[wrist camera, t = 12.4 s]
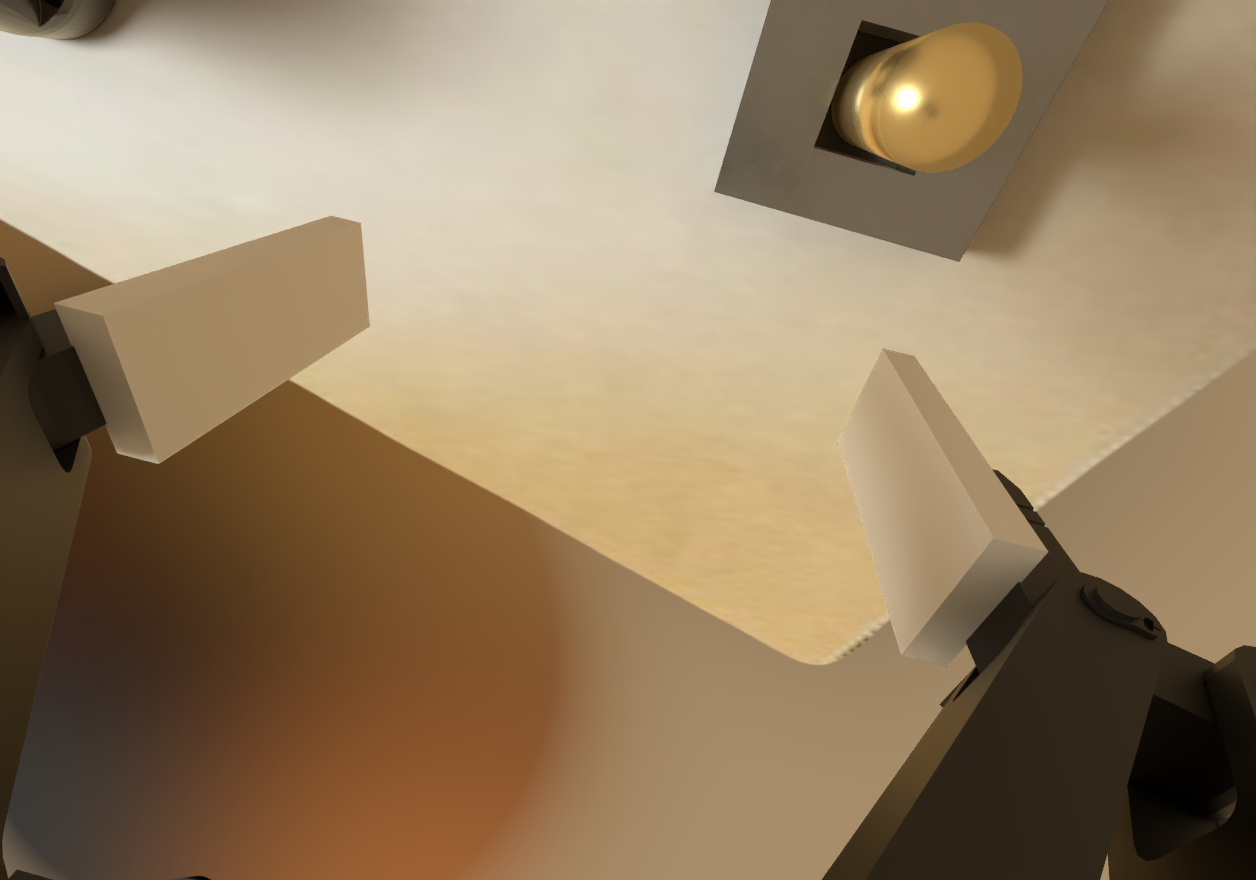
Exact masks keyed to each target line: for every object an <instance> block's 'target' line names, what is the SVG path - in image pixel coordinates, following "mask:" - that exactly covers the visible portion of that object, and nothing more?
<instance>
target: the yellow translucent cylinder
mask: <svg viewBox="0 0 1256 880" xmlns="http://www.w3.org/2000/svg"><path fill="white" fill-rule="evenodd" d="M1022 82H1023V71H1022V64H1021V60H1020V57H1019V53H1018V51H1017V49H1016V47H1015V45H1014V44H1013V43H1012V41H1011V40H1010V39H1009V38H1008V37H1007V36H1006V35H1005V34H1004V33H1003V32H1001V31H1000V30H998V29H996V28H995V27H992V26H989V25H986V24H981V23H961V24H956V25H952V26H949V27H946V28H943V29H940V30H938V31H935V32H932V33H929V34H927V35H924V36H921V37H918V38H916V39H913V40H910V41H907V42H905V43H902V44H899V45H896V46H894V47H891V48H888V49H885V50H883V51H880V52H877V53H874V54H872V55H869V56H867V57H864V58H863V59H861V60H859V61H858V62H856V63H855V64H854V65H853V66H852V67H851V68H849V70H848V71H847V72H846V73H845V74H844V76H843V77H842V78H841V80H840V82H839V83H838V85H837V88H836V90H835V93H834V96H833V100H832V108H831V113H832V121H833V124H834V127H835V129H836V131H837V133H838V134H839V135H840V137H841V138H842V139H843V140H845V141H846V142H847V143H849V144H851V145H854V146H856V147H858V148H861V149H863V150H866V151H868V152H871V153H873V154H876V155H878V156H880V157H883V158H885V159H888V160H890V161H893V162H895V163H898V164H900V165H902V166H905V167H907V168H910V169H913V170H915V171H920V172H926V173H937V172H944V171H949V170H952V169H955V168H958V167H960V166H963V165H965V164H967V163H969V162H970V161H972V160H974V159H975V158H977V157H978V156H980V155H981V154H982V153H984V152H985V151H986V150H987V149H988V148H989V147H990V146H992V144H993V143H994V142H995V141H996V140H997V139H998V138H999V137H1000V135H1001V134H1002V133H1003V131H1004V130H1005V129H1006V127H1007V125H1008V124H1009V122H1010V121H1011V119H1012V117H1013V115H1014V112H1015V110H1016V108H1017V105H1018V102H1019V99H1020V95H1021V90H1022Z"/></svg>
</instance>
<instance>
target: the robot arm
mask: <svg viewBox="0 0 1256 880" xmlns="http://www.w3.org/2000/svg"><path fill="white" fill-rule="evenodd" d="M113 2H114V0H0V31H4V32H8V33H12V34H16V35H22V36H30V37H41V38H52V39H71V38H77V37H80V36H83V35H85V34H87V33H89V32H91V31H92V30H94V29H95V28H96V27H97V26H98V25H99V24H100V23H101V22H102V21H103V20H104V19H105V17H106V16H107V14H108V13H109V11H110V9H111V7H112V4H113ZM54 306H55V308H56V309H55V310H52V311H49V312H45V313H42V314H40V315H36V316H33V317H31V316H30V313H29V311H28V309H27V307H26V304H25V302H24V300H23V298H22V296H21V293H20V291H19V289H18V287H17V285H16V283H15V280H14V278H13V276H12V274H11V272H10V269H9V267H8V265H7V263H6V261H5V260H4V259H2V258H0V880H52V879H48V878H45V877H41V876H38V875H34V874H31V873H27V872H23V871H20V870H16V871H15V872H14V873H13V875H12V876H11V877H10V878H9V879H8V876H7V871H6V867H5V864H4V860H3V852H2V838H3V832H4V826H5V822H6V817H7V813H8V809H9V805H10V800H11V796H12V792H13V788H14V783H15V779H16V775H17V771H18V767H19V762H20V758H21V754H22V750H23V746H24V741H25V737H26V733H27V729H28V724H29V720H30V716H31V711H32V707H33V703H34V699H35V695H36V690H37V686H38V682H39V678H40V673H41V669H42V665H43V661H44V657H45V653H46V648H47V644H48V640H49V636H50V631H51V627H52V623H53V618H54V615H55V610H56V606H57V602H58V598H59V593H60V589H61V585H62V581H63V576H64V572H65V568H66V564H67V560H68V555H69V551H70V547H71V542H72V538H73V534H74V530H75V526H76V521H77V517H78V513H79V509H80V505H81V500H82V496H83V492H84V487H85V483H86V479H87V475H88V471H89V467H90V462H91V458H92V451H91V447H90V445H89V443H88V441H87V438H86V436H85V435H86V434H88V433H90V432H91V431H93V430H95V429H97V428H99V427H101V426H103V425H106V428H107V430H108V433H109V435H110V437H111V440H112V442H113V444H114V447H115V449H116V451H117V453H118V454H122V455H126V456H130V457H134V458H138V459H142V460H146V461H149V462H153V463H158V464H159V463H161V462H162V461H164V460H166V459H167V458H169V457H170V456H172V455H173V454H174V453H176V452H178V451H179V450H181V449H182V448H184V447H185V446H187V445H189V444H190V443H192V442H193V441H195V440H196V439H198V438H199V437H201V436H202V435H204V434H205V433H207V432H208V431H210V430H212V429H213V428H214V427H216V426H217V425H219V424H221V423H222V422H224V421H225V420H227V419H228V418H230V417H231V416H233V415H234V414H236V413H238V412H239V411H241V410H242V409H244V408H245V407H247V406H248V405H250V404H251V403H253V402H254V401H256V400H257V399H259V398H261V397H262V396H264V395H265V394H266V393H268V392H270V391H271V390H273V389H274V388H276V387H277V386H279V385H280V384H282V383H283V382H285V381H286V380H288V379H290V378H291V377H293V376H294V375H296V374H297V373H299V372H300V371H302V370H303V369H305V368H307V367H308V366H310V365H311V364H313V363H314V362H316V361H317V360H319V359H320V358H322V357H323V356H325V355H326V354H328V353H330V352H331V351H333V350H334V349H336V348H337V347H339V346H340V345H342V344H343V343H345V342H346V341H348V340H349V339H351V338H352V337H354V336H356V335H357V334H359V333H360V332H362V331H363V330H365V329H366V328H368V327H369V326H370V324H369V312H368V301H367V289H366V278H365V266H364V255H363V243H362V231H361V223H359V222H355V221H351V220H346V219H342V218H338V217H334V216H329V217H326V218H323V219H320V220H316V221H313V222H310V223H307V224H304V225H301V226H297V227H294V228H291V229H288V230H285V231H281V232H278V233H275V234H272V235H269V236H266V237H262V238H259V239H256V240H253V241H250V242H246V243H243V244H240V245H237V246H234V247H231V248H227V249H224V250H221V251H218V252H215V253H212V254H208V255H205V256H202V257H199V258H196V259H192V260H189V261H186V262H183V263H180V264H177V265H173V266H170V267H167V268H164V269H161V270H157V271H154V272H151V273H148V274H145V275H142V276H138V277H135V278H132V279H129V280H126V281H122V282H119V283H116V284H113V285H110V286H107V287H104V288H100V289H97V290H94V291H91V292H87V293H84V294H81V295H78V296H75V297H72V298H69V299H65V300H62V301H59V302H56V303H54ZM837 443H838V446H839V449H840V453H841V456H842V459H843V463H844V466H845V469H846V473H847V476H848V479H849V483H850V486H851V489H852V493H853V496H854V499H855V503H856V506H857V509H858V513H859V516H860V519H861V523H862V526H863V529H864V533H865V536H866V539H867V543H868V546H869V549H870V553H871V556H872V560H873V563H874V566H875V570H876V573H877V576H878V580H879V583H880V586H881V590H882V593H883V596H884V600H885V603H886V606H887V610H888V613H889V616H890V620H891V623H892V626H893V629H894V633H895V636H896V640H897V643H898V646H899V650H900V653H901V655H902V656H906V657H910V658H914V659H918V660H922V661H926V662H930V663H933V664H937V665H941V666H945V667H947V666H948V664H949V663H950V662H951V661H952V660H953V659H954V658H955V657H956V655H957V654H958V653H959V652H960V651H961V650H962V649H963V648H964V646H965V645H966V644H967V646H968V648H969V650H970V653H971V655H972V658H973V660H974V662H975V665H976V666H975V668H973V670H972V671H971V672H970V673H969V674H968V675H967V676H966V677H965V678H964V679H963V680H962V681H961V682H960V683H959V685H958V686H957V687H956V688H955V689H954V690H953V691H952V692H951V693H950V694H949V695H948V696H947V697H946V698H945V699H944V700H943V702H942V703H941V704H940V705H941V706H942V707H943V709H942V710H941V712H940V713H939V714H938V716H937V717H936V719H935V720H934V722H933V723H932V724H931V726H930V727H929V729H928V730H927V732H926V733H925V734H924V736H923V737H922V739H921V740H920V741H919V743H918V744H917V746H916V747H915V748H914V750H913V751H912V753H911V754H910V756H909V757H908V758H907V760H906V761H905V763H904V764H903V765H902V767H901V768H900V770H899V771H898V772H897V774H896V775H895V777H894V778H893V780H892V781H891V782H890V784H889V785H888V787H887V788H886V789H885V791H884V792H883V794H882V795H881V797H880V798H879V799H878V801H877V802H876V804H875V805H874V806H873V808H872V809H871V811H870V812H869V814H868V815H867V816H866V818H865V819H864V821H863V822H862V823H861V825H860V826H859V828H858V829H857V831H856V832H855V833H854V835H853V836H852V838H851V839H850V841H849V842H848V843H847V845H846V846H845V847H844V849H843V851H842V852H841V853H840V855H839V856H838V857H837V859H836V860H835V862H834V863H833V864H832V866H831V867H830V869H829V870H828V872H827V873H826V874H825V876H824V877H823V879H822V880H1100V878H1101V874H1102V871H1103V867H1104V864H1105V860H1106V857H1107V853H1108V865H1109V878H1110V880H1256V647H1252V646H1245V645H1244V646H1241V647H1239V648H1237V649H1235V650H1233V651H1232V652H1230V653H1229V654H1228V655H1226V656H1225V657H1224V658H1222V659H1221V660H1220V661H1218V662H1217V663H1216V664H1214V663H1212V662H1210V661H1208V660H1206V659H1203V658H1201V657H1199V656H1197V655H1194V654H1192V653H1190V652H1188V651H1185V650H1183V649H1181V648H1179V647H1177V646H1174V645H1172V644H1170V643H1168V642H1167V637H1166V631H1165V630H1164V628H1163V627H1162V626H1161V624H1160V623H1159V621H1158V620H1157V618H1156V617H1155V616H1154V615H1153V614H1152V613H1151V612H1150V611H1149V610H1148V609H1146V608H1145V607H1144V606H1143V605H1142V604H1141V603H1140V602H1139V601H1137V600H1136V599H1134V598H1133V597H1132V596H1130V595H1129V594H1127V593H1126V592H1124V591H1123V590H1121V589H1120V588H1118V587H1116V586H1114V585H1112V584H1110V583H1108V582H1106V581H1104V580H1102V579H1101V578H1098V577H1094V576H1091V575H1088V574H1085V573H1081V572H1079V570H1078V569H1077V567H1076V566H1075V565H1074V563H1073V562H1072V560H1071V559H1070V558H1069V556H1068V555H1067V554H1066V552H1065V551H1064V550H1063V548H1062V547H1061V545H1060V544H1059V543H1058V541H1057V540H1056V538H1055V537H1054V536H1053V534H1052V533H1051V531H1050V530H1049V529H1048V528H1047V527H1044V525H1045V523H1044V522H1043V520H1042V519H1041V517H1040V516H1039V515H1038V513H1037V512H1034V511H1033V509H1034V508H1033V506H1032V505H1031V504H1030V502H1029V501H1028V499H1027V498H1026V497H1025V495H1024V494H1023V492H1022V491H1021V490H1020V489H1019V488H1018V487H1017V486H1016V485H1014V484H1013V483H1012V482H1011V481H1010V480H1009V479H1007V478H1006V477H1005V476H1004V475H1003V474H1001V473H1000V472H999V471H997V470H993V469H991V467H990V466H989V464H988V463H987V461H986V460H985V458H984V457H983V456H982V454H981V453H980V451H979V450H978V448H977V447H976V445H975V444H974V442H973V441H972V439H971V438H970V437H969V435H968V434H967V432H966V431H965V429H964V428H963V426H962V425H961V423H960V422H959V420H958V419H957V418H956V416H955V415H954V413H953V412H952V410H951V409H950V407H949V406H948V404H947V403H946V402H945V400H944V399H943V397H942V396H941V394H940V393H939V391H938V390H937V388H936V387H935V385H934V384H933V383H932V381H931V380H930V378H929V377H928V375H927V374H926V372H925V371H924V369H923V368H922V366H921V365H920V364H919V362H918V361H917V359H916V358H915V356H911V355H907V354H903V353H899V352H895V351H890V350H886V349H883V350H882V352H881V354H880V356H879V358H878V360H877V362H876V364H875V366H874V368H873V370H872V372H871V374H870V376H869V378H868V380H867V382H866V384H865V386H864V388H863V390H862V392H861V394H860V396H859V398H858V400H857V403H856V405H855V407H854V409H853V411H852V413H851V415H850V417H849V419H848V421H847V423H846V425H845V427H844V429H843V431H842V433H841V435H840V437H839V439H838V441H837Z"/></svg>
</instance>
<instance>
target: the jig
mask: <svg viewBox="0 0 1256 880" xmlns="http://www.w3.org/2000/svg"><path fill="white" fill-rule="evenodd" d="M1107 2H1108V0H771V3H770V6H769V9H768V13H767V16H766V19H765V23H764V26H763V29H762V33H761V36H760V40H759V43H758V46H757V50H756V53H755V56H754V60H753V63H752V66H751V70H750V73H749V77H748V80H747V83H746V87H745V90H744V93H743V97H742V100H741V103H740V107H739V110H738V113H737V117H736V120H735V124H734V127H733V130H732V134H731V137H730V140H729V144H728V147H727V150H726V154H725V157H724V161H723V164H722V167H721V171H720V174H719V177H718V181H717V184H716V187H715V191H714V192H717V193H721V194H724V195H728V196H731V197H735V198H738V199H742V200H745V201H749V202H752V203H756V204H759V205H762V206H766V207H769V208H773V209H776V210H780V211H783V212H787V213H790V214H794V215H797V216H801V217H804V218H808V219H811V220H815V221H818V222H822V223H825V224H829V225H832V226H836V227H839V228H843V229H846V230H850V231H853V232H857V233H860V234H864V235H867V236H871V237H874V238H878V239H881V240H885V241H888V242H892V243H895V244H899V245H902V246H906V247H909V248H913V249H916V250H920V251H923V252H927V253H930V254H934V255H937V256H941V257H944V258H948V259H951V260H955V261H958V262H959V261H960V260H961V258H962V256H963V254H964V253H965V251H966V249H967V247H968V246H969V244H970V242H971V240H972V239H973V237H974V235H975V233H976V232H977V230H978V228H979V226H980V225H981V223H982V221H983V219H984V218H985V216H986V214H987V212H988V211H989V209H990V207H991V205H992V204H993V202H994V200H995V198H996V197H997V195H998V193H999V191H1000V190H1001V188H1002V186H1003V184H1004V183H1005V181H1006V179H1007V177H1008V176H1009V174H1010V172H1011V170H1012V169H1013V167H1014V165H1015V163H1016V162H1017V160H1018V158H1019V156H1020V155H1021V153H1022V151H1023V149H1024V148H1025V146H1026V144H1027V142H1028V141H1029V139H1030V137H1031V135H1032V134H1033V132H1034V130H1035V128H1036V127H1037V125H1038V123H1039V121H1040V120H1041V118H1042V116H1043V114H1044V113H1045V111H1046V109H1047V107H1048V106H1049V104H1050V102H1051V100H1052V99H1053V97H1054V95H1055V93H1056V92H1057V90H1058V88H1059V86H1060V85H1061V83H1062V81H1063V79H1064V78H1065V76H1066V74H1067V72H1068V71H1069V69H1070V67H1071V65H1072V64H1073V62H1074V60H1075V58H1076V57H1077V55H1078V53H1079V51H1080V50H1081V48H1082V46H1083V44H1084V42H1085V41H1086V39H1087V37H1088V35H1089V34H1090V32H1091V30H1092V28H1093V27H1094V25H1095V23H1096V21H1097V20H1098V18H1099V16H1100V14H1101V13H1102V11H1103V9H1104V7H1105V6H1106V4H1107ZM961 23H981V24H986V25H989V26H992V27H995V28H996V29H998V30H1000V31H1001V32H1003V33H1004V34H1005V35H1006V36H1007V37H1008V38H1009V39H1010V40H1011V41H1012V43H1013V44H1014V45H1015V47H1016V49H1017V51H1018V53H1019V57H1020V60H1021V64H1022V71H1023V82H1022V90H1021V95H1020V99H1019V102H1018V105H1017V108H1016V110H1015V112H1014V115H1013V117H1012V119H1011V121H1010V122H1009V124H1008V125H1007V127H1006V129H1005V130H1004V131H1003V133H1002V134H1001V135H1000V137H999V138H998V139H997V140H996V141H995V142H994V143H993V144H992V146H990V147H989V148H988V149H987V150H986V151H985V152H984V153H982V154H981V155H980V156H978V157H977V158H975V159H974V160H972V161H970V162H969V163H967V164H965V165H963V166H960V167H958V168H955V169H952V170H949V171H944V172H937V173H926V172H920V171H915V170H913V169H910V168H907V167H905V166H902V165H900V166H899V168H898V169H897V168H893V167H890V166H886V165H883V164H879V163H875V162H872V161H868V160H865V159H861V158H858V157H854V156H851V155H847V154H844V153H840V152H837V151H833V150H829V149H826V148H822V147H819V146H815V143H816V140H817V137H818V135H819V132H820V129H821V127H822V124H823V121H824V119H825V116H826V113H827V111H828V108H829V105H830V103H831V100H832V97H833V95H834V92H835V89H836V87H837V84H838V82H839V79H840V76H841V74H842V71H843V68H844V66H845V63H846V60H847V58H848V55H849V52H850V50H851V47H852V44H853V42H854V39H855V36H856V34H857V31H861V32H865V33H868V34H872V35H875V36H879V37H883V38H886V39H890V40H893V41H897V42H901V43H905V42H907V41H910V40H913V39H916V38H918V37H921V36H924V35H927V34H929V33H932V32H935V31H938V30H940V29H943V28H946V27H949V26H952V25H956V24H961Z"/></svg>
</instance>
